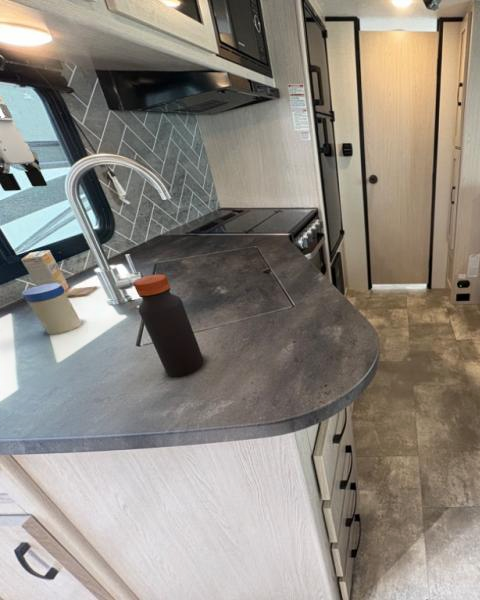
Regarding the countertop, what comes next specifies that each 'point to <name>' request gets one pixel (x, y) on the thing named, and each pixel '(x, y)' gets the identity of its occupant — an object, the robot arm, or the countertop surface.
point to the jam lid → (43, 292)
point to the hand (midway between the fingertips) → (27, 188)
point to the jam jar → (56, 314)
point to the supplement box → (44, 269)
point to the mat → (80, 291)
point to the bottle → (168, 326)
